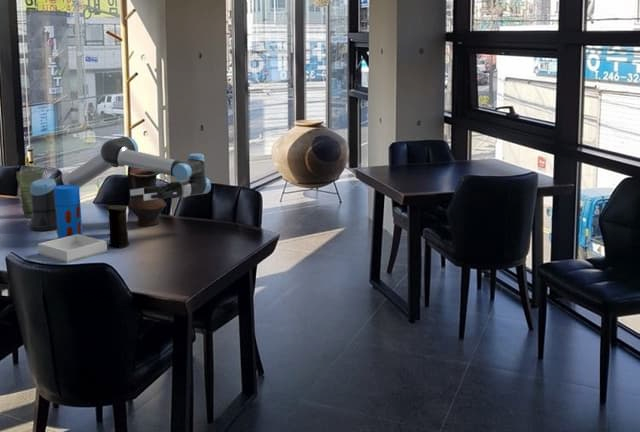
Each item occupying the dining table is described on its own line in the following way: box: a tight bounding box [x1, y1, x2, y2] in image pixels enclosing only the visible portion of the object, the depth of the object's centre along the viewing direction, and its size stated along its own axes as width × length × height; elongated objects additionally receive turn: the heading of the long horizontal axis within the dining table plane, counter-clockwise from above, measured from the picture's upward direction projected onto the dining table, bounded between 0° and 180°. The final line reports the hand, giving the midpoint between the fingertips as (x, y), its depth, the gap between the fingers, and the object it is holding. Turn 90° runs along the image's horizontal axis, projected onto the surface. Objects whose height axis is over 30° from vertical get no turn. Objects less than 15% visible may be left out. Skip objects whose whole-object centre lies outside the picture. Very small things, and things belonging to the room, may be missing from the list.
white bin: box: [37, 234, 108, 264], centre depth 319 cm, size 20×20×5 cm
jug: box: [127, 166, 167, 227], centre depth 369 cm, size 21×18×30 cm
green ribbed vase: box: [15, 167, 45, 218], centre depth 385 cm, size 11×12×25 cm
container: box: [107, 204, 130, 249], centre depth 330 cm, size 9×9×18 cm
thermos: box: [54, 185, 83, 239], centre depth 339 cm, size 11×11×25 cm
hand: (136, 195), depth 333 cm, fingers open, 13 cm apart
